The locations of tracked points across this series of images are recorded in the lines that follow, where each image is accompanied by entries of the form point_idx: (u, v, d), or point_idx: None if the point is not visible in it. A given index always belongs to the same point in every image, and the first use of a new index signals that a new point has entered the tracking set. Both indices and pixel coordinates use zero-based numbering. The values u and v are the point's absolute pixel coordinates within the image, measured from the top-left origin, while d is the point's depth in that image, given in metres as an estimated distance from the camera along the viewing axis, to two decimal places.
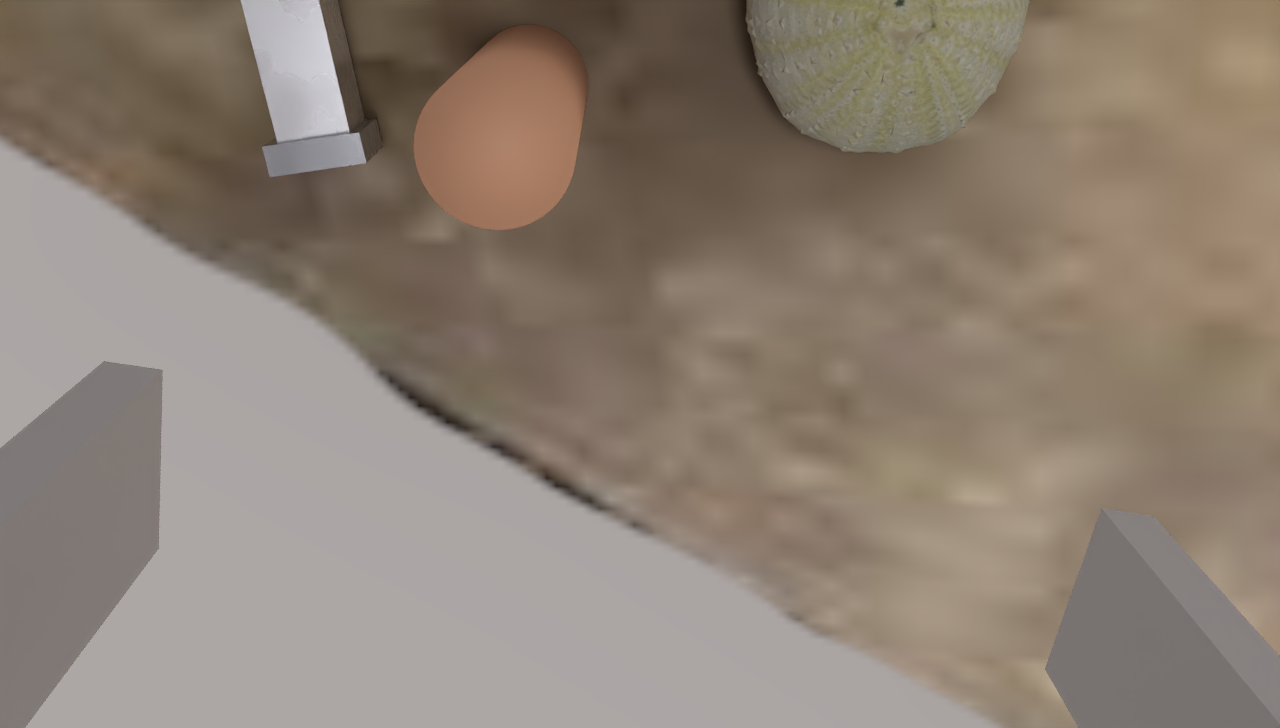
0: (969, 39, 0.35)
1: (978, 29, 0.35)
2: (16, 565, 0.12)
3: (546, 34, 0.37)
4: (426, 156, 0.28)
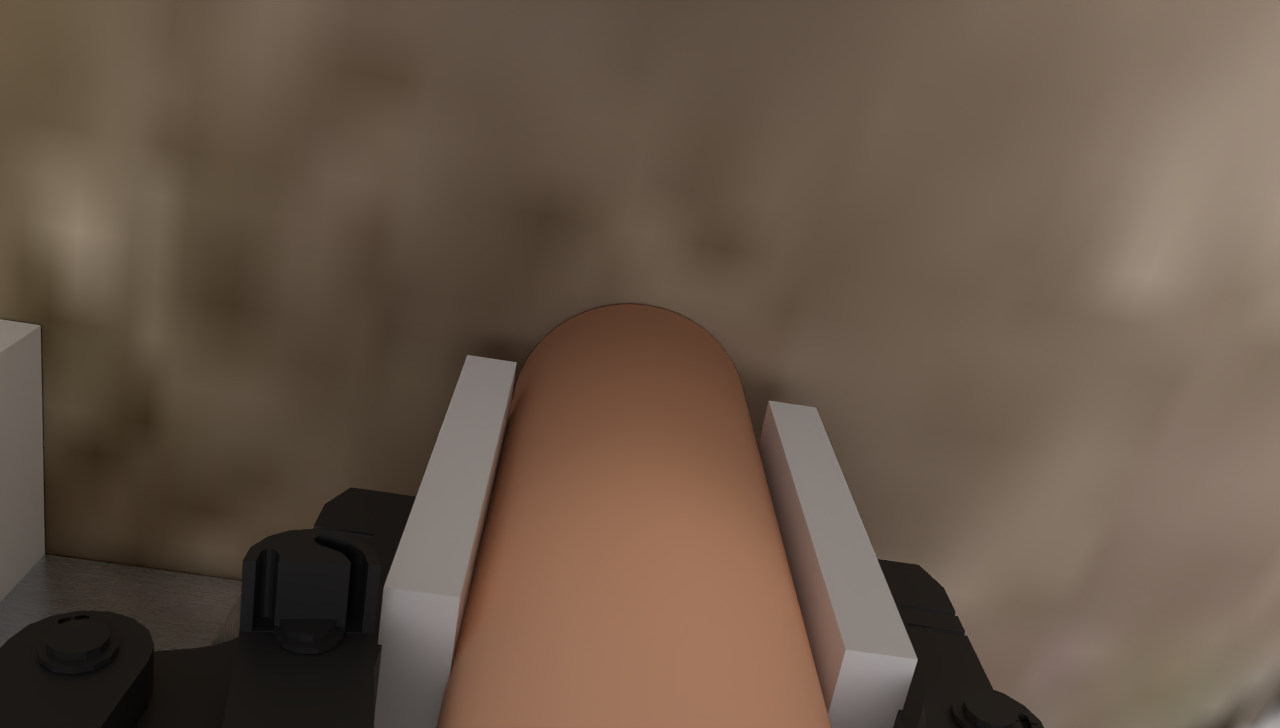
0: None
1: None
2: (482, 522, 0.14)
3: (527, 390, 0.17)
4: None
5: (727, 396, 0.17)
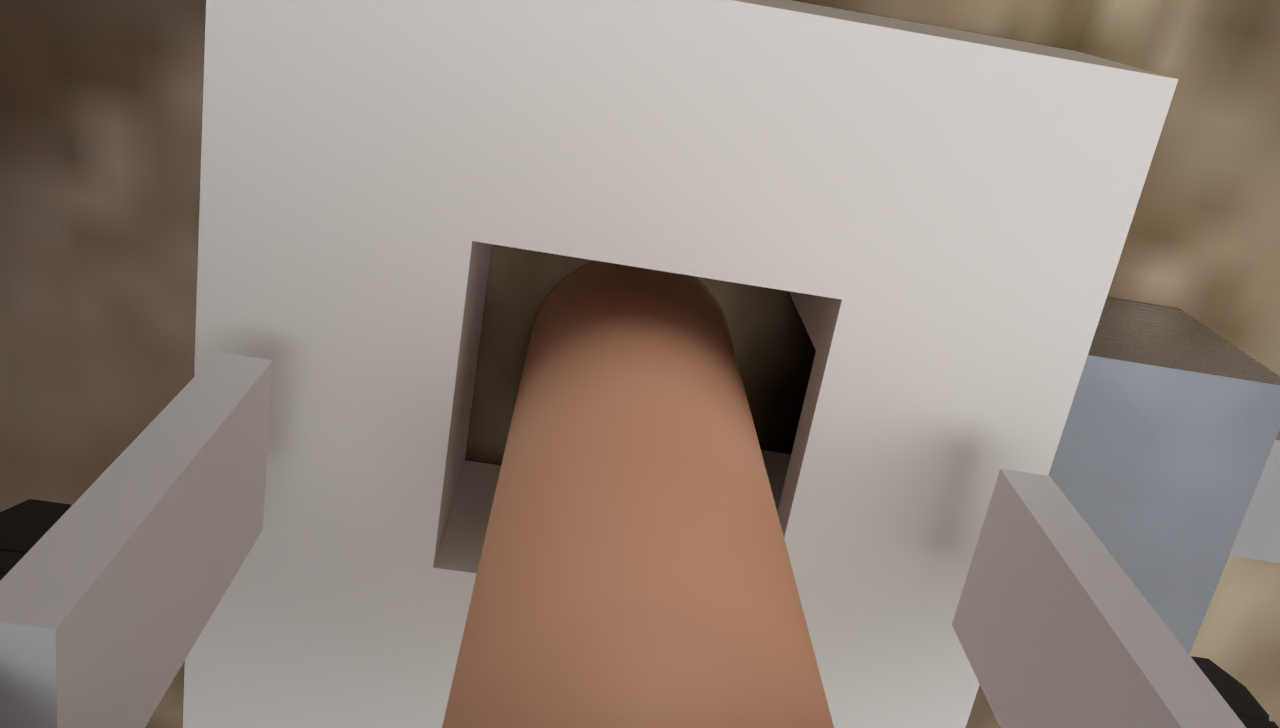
0: None
1: None
2: (167, 538, 0.12)
3: (544, 325, 0.20)
4: None
5: (714, 328, 0.20)
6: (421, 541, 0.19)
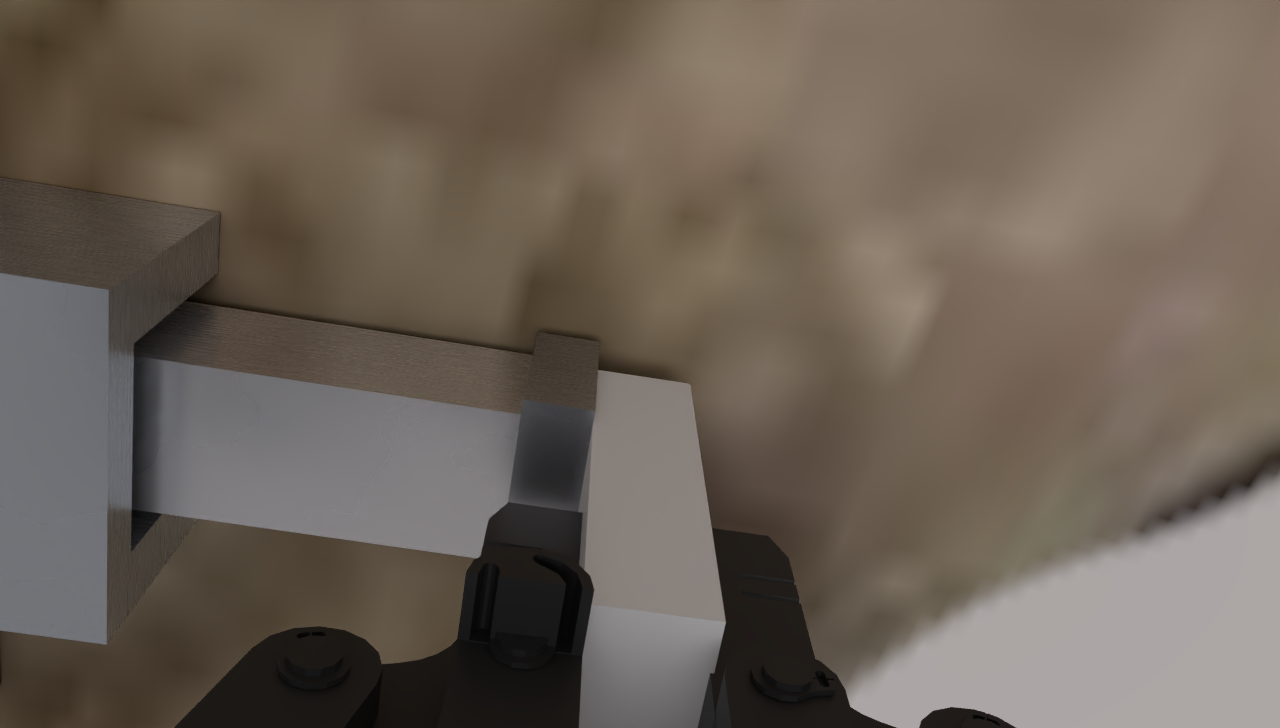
0: None
1: None
2: None
3: None
4: None
5: None
6: None
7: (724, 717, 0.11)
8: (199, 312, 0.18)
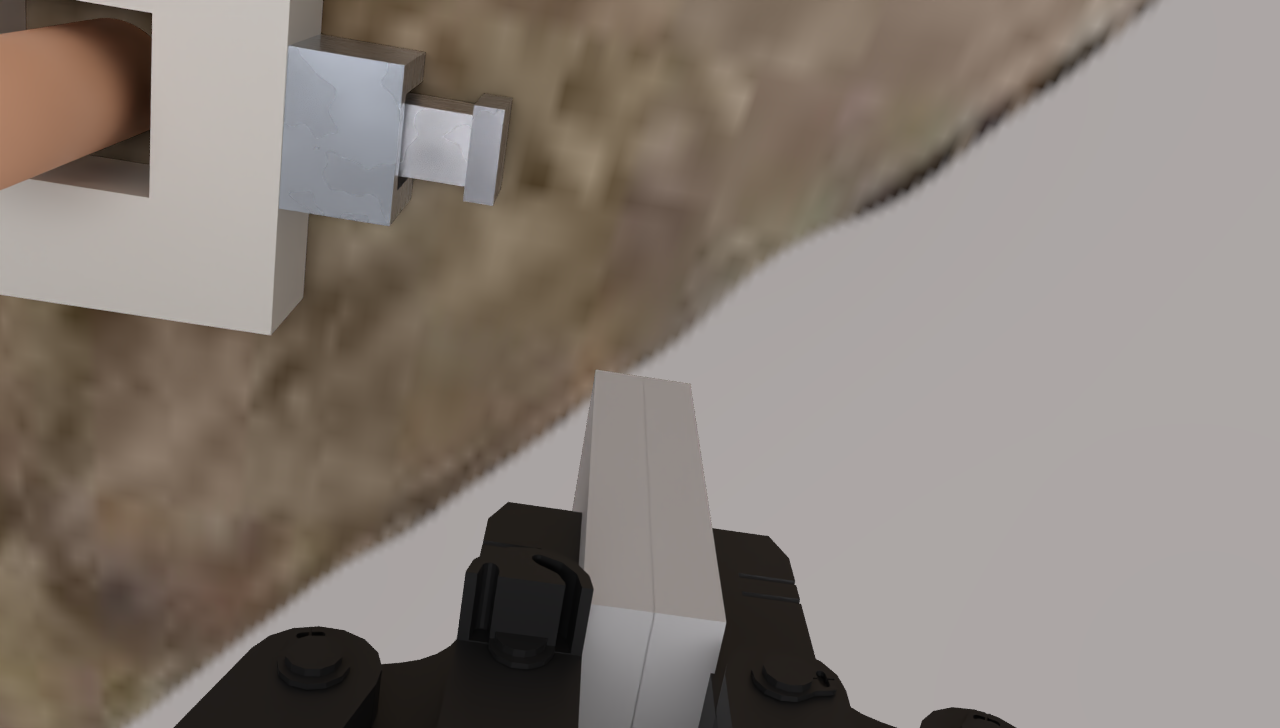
0: None
1: None
2: None
3: None
4: None
5: (119, 43, 0.37)
6: None
7: (724, 717, 0.11)
8: None
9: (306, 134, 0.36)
